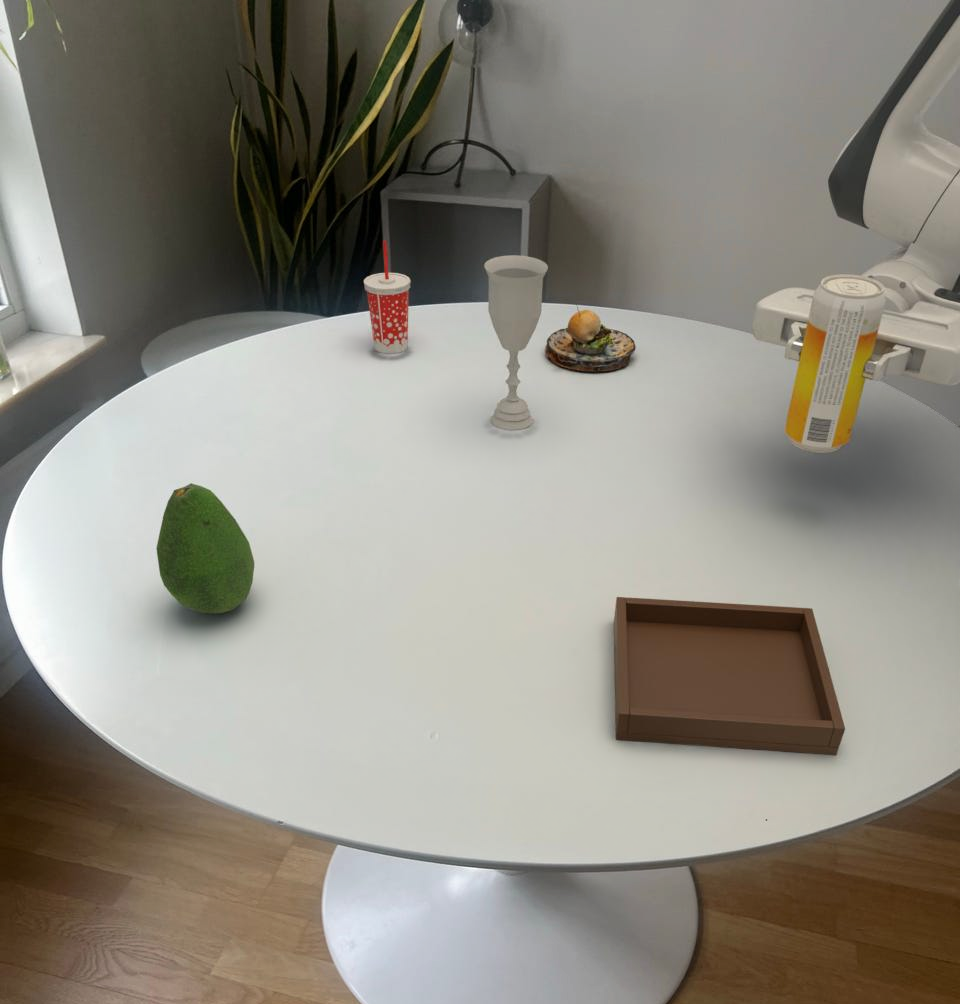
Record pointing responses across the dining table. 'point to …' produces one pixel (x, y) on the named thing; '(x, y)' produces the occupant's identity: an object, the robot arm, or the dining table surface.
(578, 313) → the burger
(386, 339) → the beverage cup
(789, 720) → the serving tray
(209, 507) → the avocado
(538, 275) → the chalice
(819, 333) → the beer can
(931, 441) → the dining table surface
